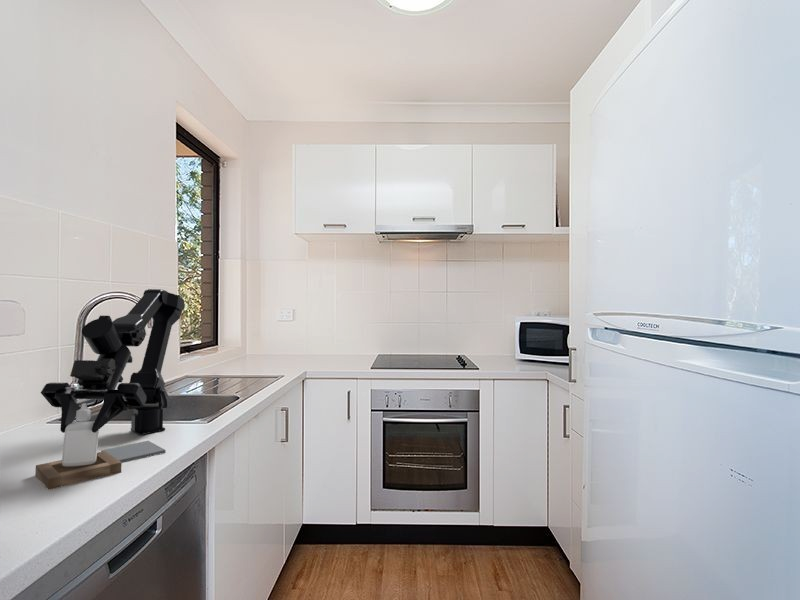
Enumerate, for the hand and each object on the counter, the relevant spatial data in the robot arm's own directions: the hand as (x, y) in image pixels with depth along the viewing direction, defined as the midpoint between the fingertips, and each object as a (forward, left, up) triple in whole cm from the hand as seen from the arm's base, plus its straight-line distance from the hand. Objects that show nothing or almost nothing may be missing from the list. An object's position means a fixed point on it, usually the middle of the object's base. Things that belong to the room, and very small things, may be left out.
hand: (77, 431), depth 90 cm
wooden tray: (0, -1, -9) cm, 9 cm away
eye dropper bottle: (0, 0, -7) cm, 7 cm away
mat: (-12, -7, -9) cm, 17 cm away
